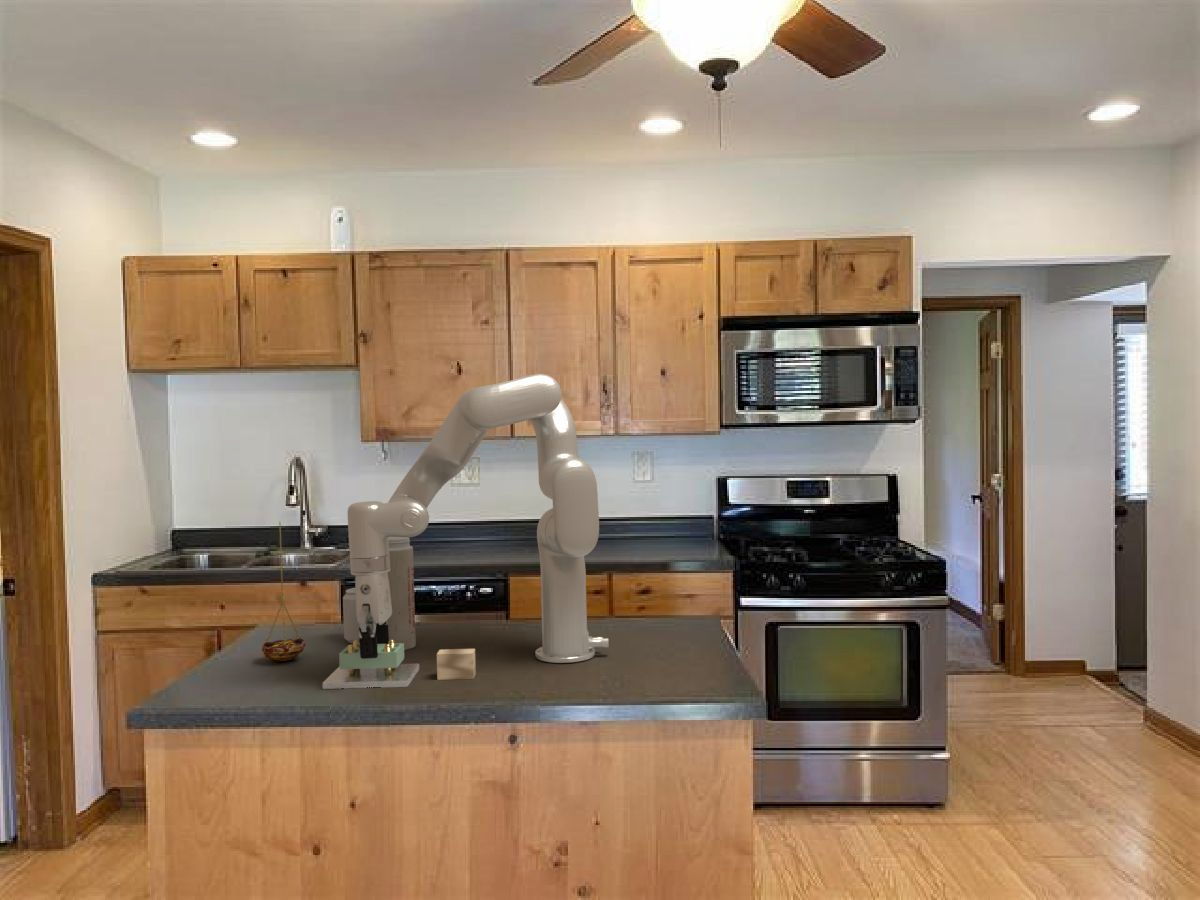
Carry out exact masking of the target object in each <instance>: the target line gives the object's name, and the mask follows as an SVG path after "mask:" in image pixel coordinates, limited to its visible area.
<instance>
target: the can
mask: <svg viewBox="0 0 1200 900" xmlns="http://www.w3.org/2000/svg"><path fill="white" fill-rule="evenodd" d="M342 610H343V611H342V613H343V614H342V615H343V639H345V641H347V642H348V643H350V644H353V642H354V641H355V640H358V641H359V632H360V631H359V628H360V625H359V624H358V623H357V615H356V587H352V588H349V589H346V590H345V594H344V595H343V596H342ZM371 628H372V627H370V629H371ZM359 644H360V641H359Z"/></svg>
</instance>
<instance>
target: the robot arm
mask: <svg viewBox="0 0 1200 900" xmlns="http://www.w3.org/2000/svg"><path fill="white" fill-rule="evenodd" d="M525 421H529V422H530V424H531V426H532V428H533V430H534V434H535V439H536V447H537V451H536V452H537V465H538V467H537V468H538V485H539V489H540V491H541V492H542V494H543V495H544V496H545V497H547V498H548V499H550V500H552V508H549V509H548V510H547V511H545V512H544V513H543V514H542V516H541V517H540V518H539V521H538V523H537V529H536V541H537V545H538V546H537V547H538V553H539V563H540V564H539V565H540V591H541V592H540V596H541V597H540V600H541V633H542V634H541V635H542V636H541V638H542V639H541V641H542V642H541V643H542V646H540V647H538V648H537V649H536V650H535V651H534V652H535V655H534V656H535V658H536V659H537V660H540V661H541V662H542V661H543V662H547V663H554V664H565V663H566V664H567V663H568V664H569V663H578V662H583V661H587V660H589V659H592V658H594V657H595V655H596V653H595V652H596V649H595V648H609V647H610V646H609V644H610V643H609V642H610V641H609V637H606V638H604V637H603V636H595V637H594V636H592V635H590V634H589V632H590V631H589V630H588V622H587V621H588V620H587V616H588V615H587V614H588V613H587V576H586V575H587V574H586V573H587V571H586V562H585V556H587V555H588V554H590V553H591V552H592V551H593V550H594V548H595V547H596V546H597V543H598V540H599V535H600V519H599V518H600V516H599V499H598V498H599V497H598V496H599V494H598V482H597V478H596V475H595V473H594V472H595V471H594V470H593V468H592V467H591V465H589V463H587V461H586V460H584V459H581V458H579V457H580V456H579V448H578V440H577V439H578V438H577V432H576V431H577V429H576V424H575V421H574V418H573V415H572V413H571V410H570V408H569V407H568V406H567V404H566V403H565V402H564V400H563V399H562V388H561V386H560V384H559V383H558V381H557V380H556V379H554V377H553V376H550V375H548V374H545V373H535V374H530V375H529V374H527V375H524V376H520V377H518V378H515V379H511V380H507V381H503V382H499V383H498V382H497V383H493V384H487V385H482V386H476V387H472V388H469V389H467V390H465V392H464V393H462V395H461V396H460V397H459V398H458V399H457V401H456V403H455V404H454V406H453V407H452V409H451V410H450V411H449V413H448V415H447V416H446V418H445V420H444V421H443V422H442V424H441V426H440V427H439V428H438V429H437V432H436V433H435V435H434V436H433V437H432V438H431V440H430V442H429V444H428V445H427V446H426V447H425V449H424V450H423V451H422V453H421V454H420V455H419V457H418V458H417V460H416V462H415V463H414V464H413V465H412V467H411V468H410V469H409V470H408V471H407V473H406V475H405V476H404V478H403V479H402V480H401V482H400V483H399V485H398V486H397V487H396V489H395V491H394V492H393V494H392V495H391V497H390V498H389V500H388V502H387V503H386V502H385V503H384V502H382V501H373V500H371V501H358V502H354V503H352V504H350V505H349V506H348V508H347V512H346V513H347V528H348V530H347V531H348V532H347V533H348V547H349V563H350V565H349V567H350V575H352V576H355V585H354V586H355V587H354V588H356V615H357V623H358V624H359V625H360V628H359V631H360V632H359V641H360V643H359V644H360V657H361V658H362V659H368V658H377V656H378V649H377V644H388V642H389V631H388V625H385V624H388V618H389V617H390V616H391V615H392V605H391V595H390V585H389V578H388V572H389V571H390V555H389V538H388V537H409V538H414V537H416V536H419V535H420V534H422V533H424V531H425V530H426V529H427V527H428V525H429V521H430V515H429V511H428V509H427V508H428V507H429V505H430V504H431V502H432V501H433V499H434V498H435V496H436V495H437V494H438V493H439V491H440V490H441V489H442V488H443V487H444V486H445V485H446V484H447V483H448V482H449V481H450V480H451V479H453V478H455V477H456V476H457V475H459V474H460V473H461V472H462V471H463V470H464V469H465V467H466V466H467V464H468V463H469V461H470V460H471V458H472V457H473V454H474V453H475V452H476V450H477V448H478V447H479V445H480V444H481V442H482V441H483V440H484V439H485V437H486V435H487V434H488V432H489V430H491V429H495V428H499V427H505V426H510V425H513V424H517V423H522V422H525ZM370 627H372V628H371V629H370Z"/></svg>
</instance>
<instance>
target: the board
mask: <svg viewBox="0 0 1200 900" xmlns="http://www.w3.org/2000/svg"><path fill="white" fill-rule="evenodd" d="M349 645H350V644H348V645H347V646H346V647H345V648H344V649H343V650H341V652H340V653H338V657H339V658H338V659H339V663H338V664H339V666H340V669H367V668H397V667H398V666H399V664H402V662H403V661H404V659H405V650H404V643H397V644H395V647H391V652H384V646H385V645H386V644H377V649H378V656H377V658H368V659H362V658H361V657H360V643H359V648H355V653H348V647H349Z"/></svg>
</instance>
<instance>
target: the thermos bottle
mask: <svg viewBox="0 0 1200 900" xmlns="http://www.w3.org/2000/svg"><path fill="white" fill-rule="evenodd" d="M388 538H389V555H390V571H389V572H388V578H389V585H390V595H391V605H392V615H391V616H390V617H389V618H388V624H385V625H388V631H389V640H390V639H393V640H394V641H395V644H397V643H404V651H406V650H410V649H413V648H414V647H416V613H415V612H416V610H415V609H416V608H415V607H416V606H415V581H414V580H415V578H414V577H415V576H414V571H415V568H414V547H413V546H412V545H410V543H411V539H410V537H388Z"/></svg>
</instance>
